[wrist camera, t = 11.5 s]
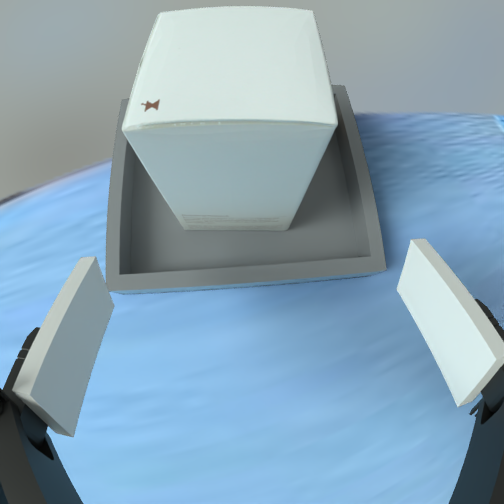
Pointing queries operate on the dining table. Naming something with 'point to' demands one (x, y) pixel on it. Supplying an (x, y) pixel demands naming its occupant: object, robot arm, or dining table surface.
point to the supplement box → (232, 114)
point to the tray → (245, 241)
